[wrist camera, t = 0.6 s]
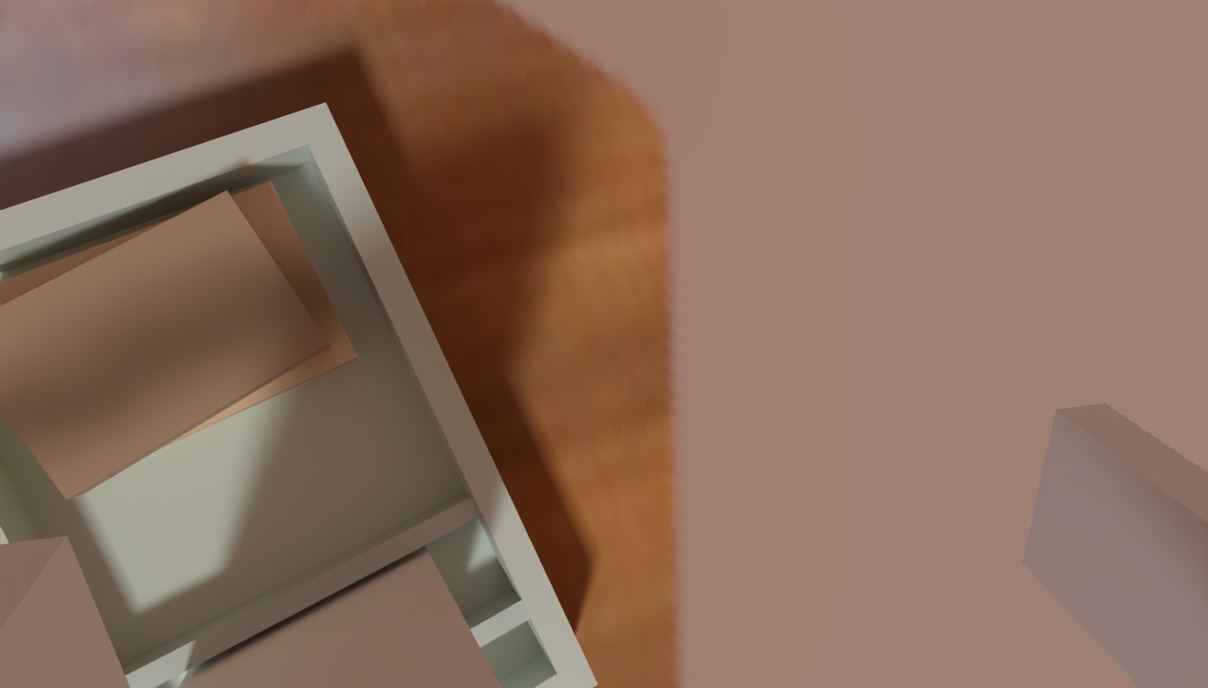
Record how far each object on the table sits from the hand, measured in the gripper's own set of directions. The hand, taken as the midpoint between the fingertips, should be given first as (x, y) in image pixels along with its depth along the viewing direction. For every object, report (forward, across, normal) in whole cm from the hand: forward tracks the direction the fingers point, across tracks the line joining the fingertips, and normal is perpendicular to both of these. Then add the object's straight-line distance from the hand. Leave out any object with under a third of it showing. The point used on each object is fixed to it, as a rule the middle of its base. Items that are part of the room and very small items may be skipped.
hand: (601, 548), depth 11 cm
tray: (+19, -11, -11) cm, 25 cm away
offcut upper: (+18, -13, -4) cm, 23 cm away
